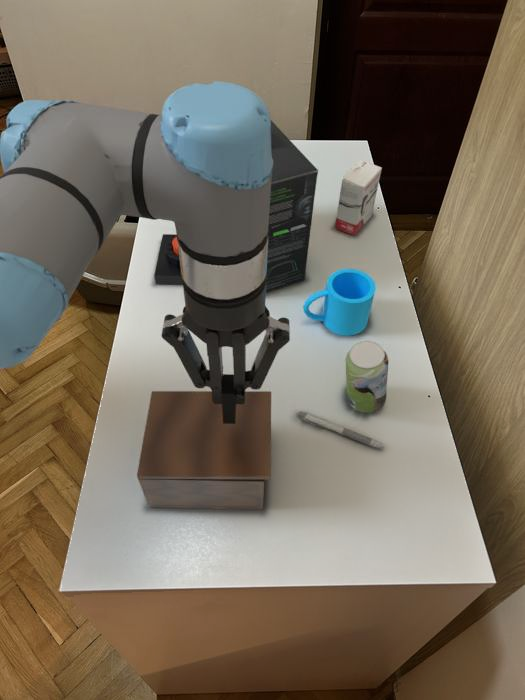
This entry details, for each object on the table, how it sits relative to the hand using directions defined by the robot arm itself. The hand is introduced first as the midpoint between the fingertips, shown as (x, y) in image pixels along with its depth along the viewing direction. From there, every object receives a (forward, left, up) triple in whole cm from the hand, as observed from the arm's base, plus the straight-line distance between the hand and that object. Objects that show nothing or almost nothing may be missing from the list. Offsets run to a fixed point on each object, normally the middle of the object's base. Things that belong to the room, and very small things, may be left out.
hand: (229, 414), depth 65 cm
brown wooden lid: (-3, 0, -5) cm, 6 cm away
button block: (-11, +43, -14) cm, 47 cm away
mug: (+17, +29, -14) cm, 36 cm away
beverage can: (+20, +12, -14) cm, 27 cm away
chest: (-3, 0, -14) cm, 14 cm away
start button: (-11, +43, -11) cm, 46 cm away
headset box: (+2, +46, -14) cm, 48 cm away
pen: (+16, +6, -14) cm, 22 cm away
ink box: (+23, +57, -14) cm, 63 cm away
